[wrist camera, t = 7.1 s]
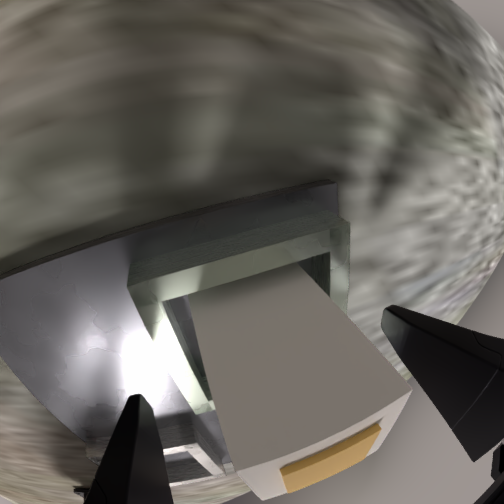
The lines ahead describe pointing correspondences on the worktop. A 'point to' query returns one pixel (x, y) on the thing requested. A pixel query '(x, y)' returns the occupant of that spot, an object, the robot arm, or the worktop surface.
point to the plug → (292, 380)
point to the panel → (158, 315)
